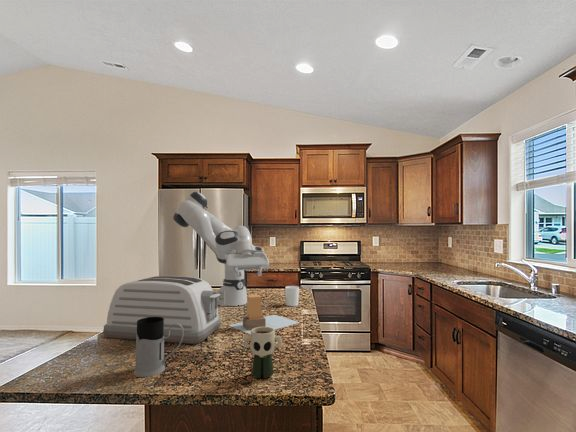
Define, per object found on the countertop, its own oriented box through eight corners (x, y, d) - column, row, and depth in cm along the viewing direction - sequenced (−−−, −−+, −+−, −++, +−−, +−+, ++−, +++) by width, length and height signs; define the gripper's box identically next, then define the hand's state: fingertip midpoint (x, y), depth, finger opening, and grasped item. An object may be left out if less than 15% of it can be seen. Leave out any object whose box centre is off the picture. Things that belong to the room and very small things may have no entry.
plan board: (228, 327, 139) (228, 325, 139) (274, 316, 157) (274, 314, 157) (253, 338, 126) (253, 335, 126) (300, 324, 143) (300, 322, 143)
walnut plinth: (242, 325, 140) (242, 315, 140) (260, 323, 142) (260, 314, 143) (246, 330, 132) (246, 320, 132) (265, 328, 135) (265, 318, 135)
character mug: (242, 381, 90) (242, 334, 91) (245, 370, 97) (245, 326, 98) (281, 380, 90) (281, 333, 91) (281, 369, 97) (281, 326, 98)
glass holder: (140, 364, 101) (141, 316, 102) (186, 363, 102) (187, 315, 103) (128, 377, 93) (129, 324, 93) (179, 375, 94) (179, 323, 94)
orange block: (247, 316, 139) (247, 295, 139) (258, 315, 141) (258, 294, 141) (249, 319, 134) (249, 297, 135) (261, 318, 136) (261, 296, 136)
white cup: (293, 307, 176) (293, 288, 176) (282, 305, 180) (282, 287, 181) (302, 304, 182) (301, 286, 182) (290, 302, 187) (290, 285, 187)
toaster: (204, 347, 117) (205, 284, 118) (98, 338, 126) (99, 281, 127) (228, 328, 139) (228, 276, 140) (136, 322, 148) (137, 273, 149)
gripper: (224, 248, 151) (227, 272, 142) (266, 248, 158) (272, 270, 148) (223, 257, 155) (226, 281, 146) (264, 256, 162) (269, 278, 152)
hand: (249, 275), depth 147 cm, fingers open, 8 cm apart
